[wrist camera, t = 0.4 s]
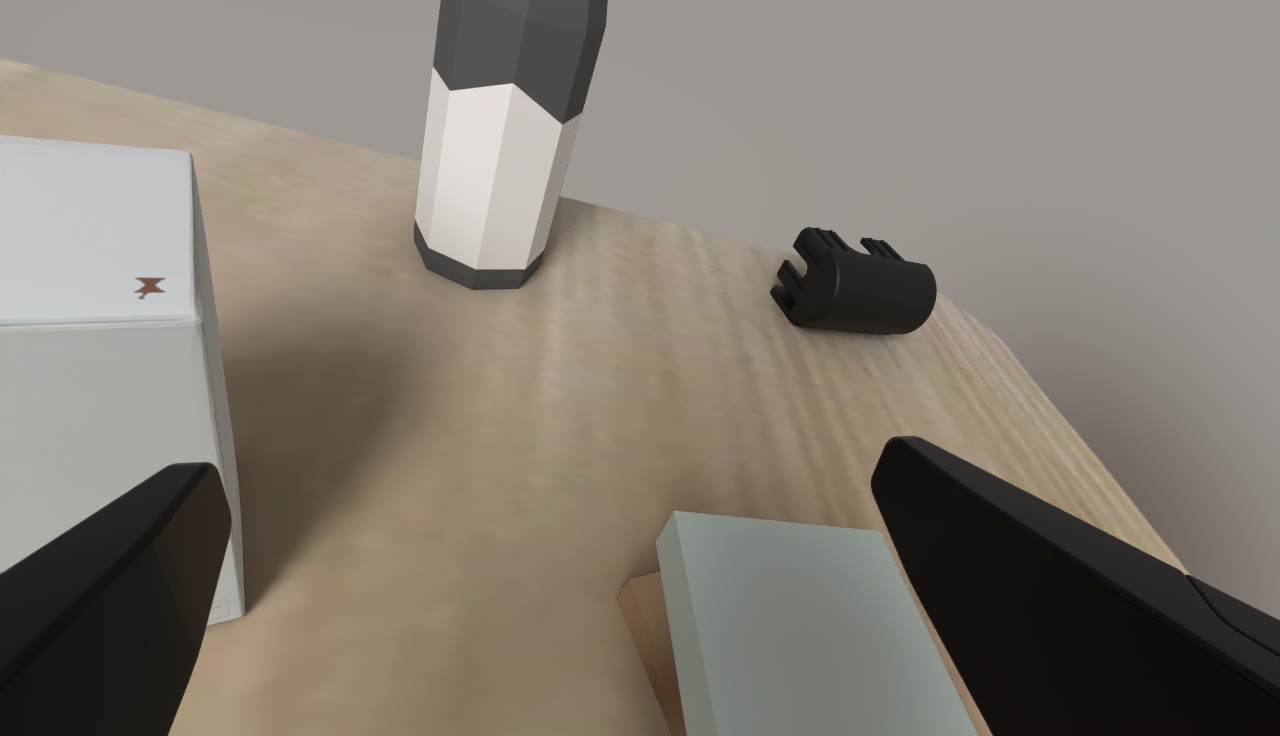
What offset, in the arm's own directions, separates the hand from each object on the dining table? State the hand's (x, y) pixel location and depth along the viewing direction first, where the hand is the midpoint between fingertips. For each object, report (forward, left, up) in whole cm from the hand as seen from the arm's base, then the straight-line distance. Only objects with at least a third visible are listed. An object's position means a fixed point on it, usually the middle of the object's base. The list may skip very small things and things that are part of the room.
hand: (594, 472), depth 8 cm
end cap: (+28, -31, -16) cm, 45 cm away
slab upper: (+2, -13, -14) cm, 19 cm away
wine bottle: (+30, -3, -16) cm, 34 cm away
